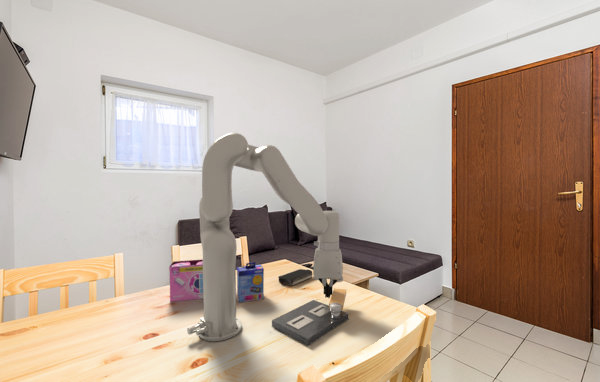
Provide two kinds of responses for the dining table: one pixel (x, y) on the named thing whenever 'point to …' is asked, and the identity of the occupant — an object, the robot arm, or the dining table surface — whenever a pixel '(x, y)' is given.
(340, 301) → the swing arm
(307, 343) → the grey flat block
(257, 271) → the ink cartridge box
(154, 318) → the dining table surface
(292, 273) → the black sponge
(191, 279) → the gum box
